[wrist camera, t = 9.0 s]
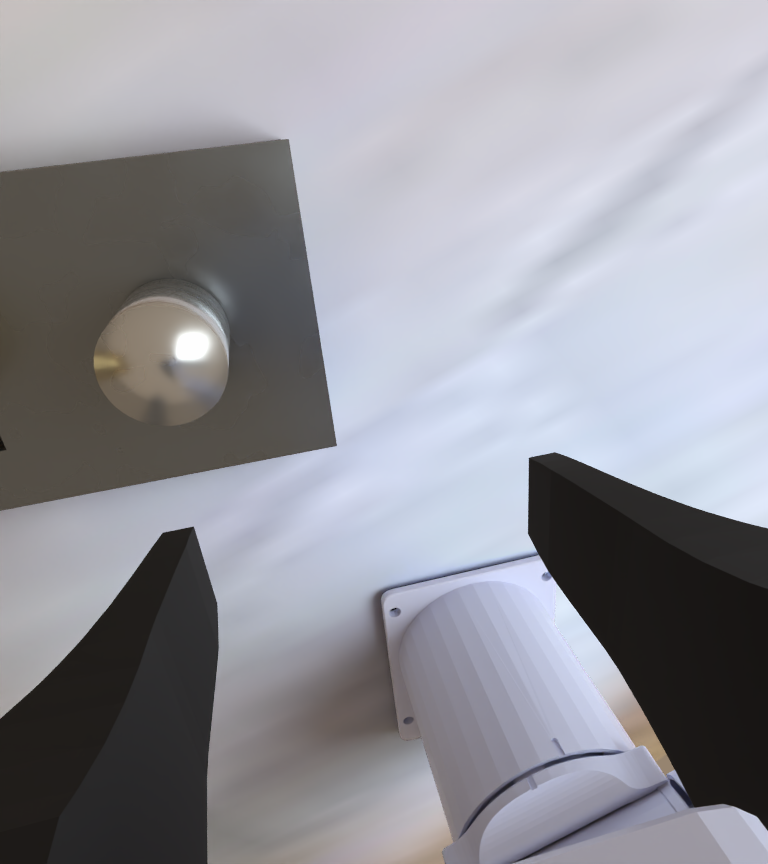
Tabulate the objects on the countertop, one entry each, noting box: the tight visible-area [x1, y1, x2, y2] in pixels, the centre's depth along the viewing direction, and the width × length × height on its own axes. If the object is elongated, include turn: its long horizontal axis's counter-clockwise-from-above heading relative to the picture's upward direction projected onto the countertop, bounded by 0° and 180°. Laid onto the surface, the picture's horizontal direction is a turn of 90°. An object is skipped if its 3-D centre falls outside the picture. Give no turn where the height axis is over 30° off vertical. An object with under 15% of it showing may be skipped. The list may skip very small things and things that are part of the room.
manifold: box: [0, 139, 337, 511], centre depth 16 cm, size 9×16×6 cm, turn 96°
